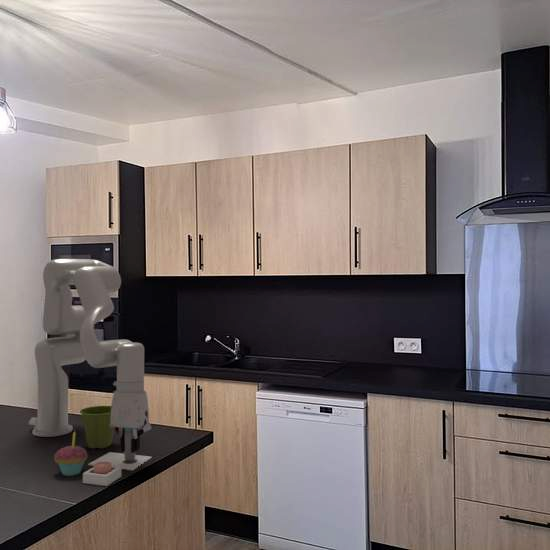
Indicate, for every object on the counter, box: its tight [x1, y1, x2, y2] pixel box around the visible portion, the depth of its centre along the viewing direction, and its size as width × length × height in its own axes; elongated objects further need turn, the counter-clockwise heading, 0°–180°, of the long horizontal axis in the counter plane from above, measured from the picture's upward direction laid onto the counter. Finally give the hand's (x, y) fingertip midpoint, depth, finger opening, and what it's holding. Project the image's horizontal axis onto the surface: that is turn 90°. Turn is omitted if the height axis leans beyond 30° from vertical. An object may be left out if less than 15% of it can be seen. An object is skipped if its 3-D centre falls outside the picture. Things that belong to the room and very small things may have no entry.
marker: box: [123, 428, 136, 460], centre depth 164 cm, size 3×3×11 cm
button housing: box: [82, 466, 122, 487], centre depth 150 cm, size 7×7×2 cm
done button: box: [93, 462, 111, 475], centre depth 150 cm, size 4×4×2 cm
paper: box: [87, 451, 153, 471], centre depth 165 cm, size 14×11×1 cm
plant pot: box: [79, 405, 115, 449], centre depth 179 cm, size 12×12×11 cm
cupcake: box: [53, 429, 88, 477], centre depth 155 cm, size 9×8×12 cm
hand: (130, 450), depth 164 cm, fingers closed on marker, 2 cm apart
